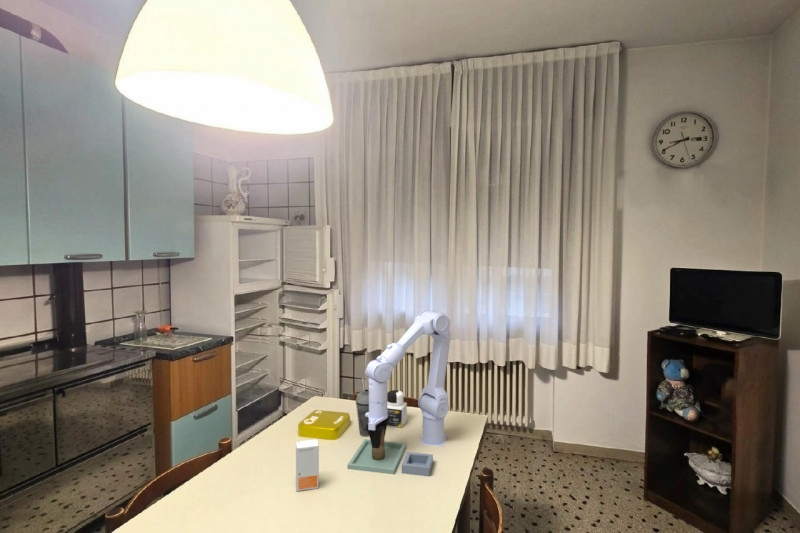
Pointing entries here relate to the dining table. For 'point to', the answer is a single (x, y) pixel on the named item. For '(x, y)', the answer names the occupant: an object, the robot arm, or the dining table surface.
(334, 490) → the dining table surface
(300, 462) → the skincare box
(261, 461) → the dining table surface
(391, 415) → the medicine bottle
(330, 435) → the element tile
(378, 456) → the dowel
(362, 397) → the beverage cup
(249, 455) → the dining table surface
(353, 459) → the tray
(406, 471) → the grey square recessed block
